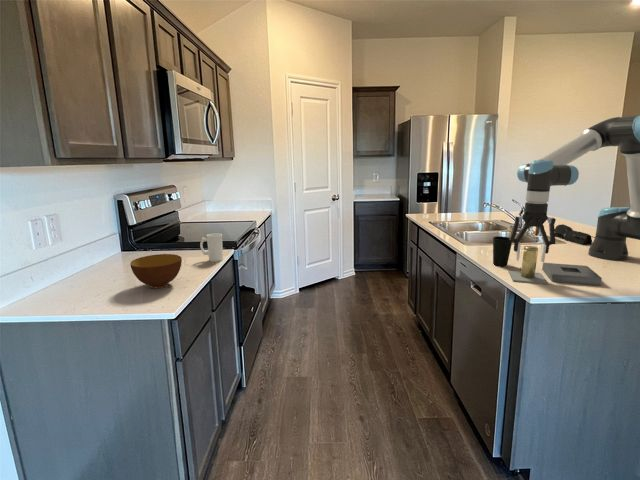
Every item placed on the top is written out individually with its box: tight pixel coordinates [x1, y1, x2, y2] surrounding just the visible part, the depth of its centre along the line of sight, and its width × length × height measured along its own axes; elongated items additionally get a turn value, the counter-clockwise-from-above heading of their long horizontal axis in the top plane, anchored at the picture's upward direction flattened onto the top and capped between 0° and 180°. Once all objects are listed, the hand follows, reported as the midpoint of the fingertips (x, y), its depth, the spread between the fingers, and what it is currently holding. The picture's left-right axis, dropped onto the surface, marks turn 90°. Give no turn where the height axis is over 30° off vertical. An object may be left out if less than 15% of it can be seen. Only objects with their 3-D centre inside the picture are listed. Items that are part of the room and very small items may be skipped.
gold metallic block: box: [520, 245, 539, 279], centre depth 150 cm, size 5×5×12 cm
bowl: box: [129, 253, 183, 289], centre depth 145 cm, size 18×18×10 cm
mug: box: [199, 232, 224, 263], centre depth 178 cm, size 10×7×12 cm, turn 98°
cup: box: [492, 235, 513, 268], centre depth 168 cm, size 8×8×12 cm
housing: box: [541, 262, 603, 286], centre depth 152 cm, size 16×16×3 cm
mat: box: [508, 270, 549, 285], centre depth 152 cm, size 12×12×1 cm
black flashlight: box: [554, 223, 595, 246], centre depth 212 cm, size 7×25×8 cm, turn 12°
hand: (529, 260), depth 150 cm, fingers open, 8 cm apart
